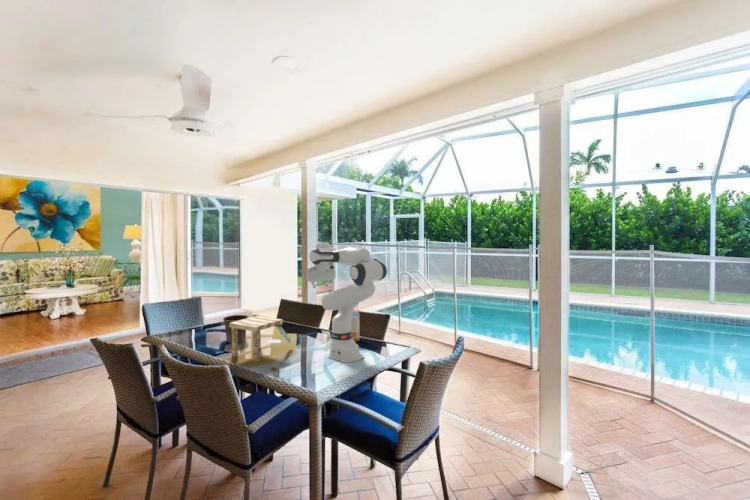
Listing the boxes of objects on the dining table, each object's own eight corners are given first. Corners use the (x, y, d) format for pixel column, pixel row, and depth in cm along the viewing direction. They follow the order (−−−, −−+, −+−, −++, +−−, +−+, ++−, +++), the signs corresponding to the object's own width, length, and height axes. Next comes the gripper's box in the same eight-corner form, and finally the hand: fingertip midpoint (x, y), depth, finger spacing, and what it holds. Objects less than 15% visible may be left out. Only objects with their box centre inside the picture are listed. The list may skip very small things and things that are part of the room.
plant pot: (240, 344, 250) (239, 320, 250) (218, 343, 254) (218, 319, 253) (252, 338, 266) (252, 315, 266) (232, 336, 269) (231, 314, 269)
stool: (258, 346, 245) (257, 315, 244) (283, 352, 234) (282, 319, 233) (230, 356, 226) (229, 322, 225) (256, 362, 215) (255, 327, 214)
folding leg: (289, 340, 244) (276, 323, 234) (292, 340, 243) (279, 323, 232) (287, 343, 242) (274, 326, 232) (290, 343, 241) (277, 326, 231)
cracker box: (359, 339, 263) (359, 309, 262) (358, 341, 257) (358, 311, 256) (340, 338, 264) (339, 309, 263) (338, 341, 258) (338, 310, 257)
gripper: (309, 268, 235) (309, 289, 236) (337, 266, 248) (336, 286, 250) (304, 266, 239) (304, 287, 241) (331, 264, 253) (330, 284, 254)
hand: (320, 287), depth 245 cm, fingers open, 8 cm apart
